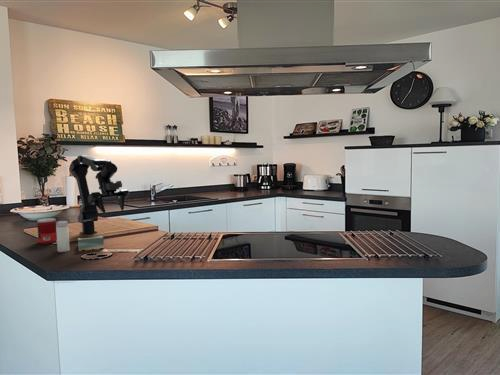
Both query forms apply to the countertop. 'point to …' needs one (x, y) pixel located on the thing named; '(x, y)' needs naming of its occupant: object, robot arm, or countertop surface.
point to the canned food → (47, 230)
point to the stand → (90, 243)
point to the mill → (62, 236)
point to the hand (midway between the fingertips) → (113, 211)
